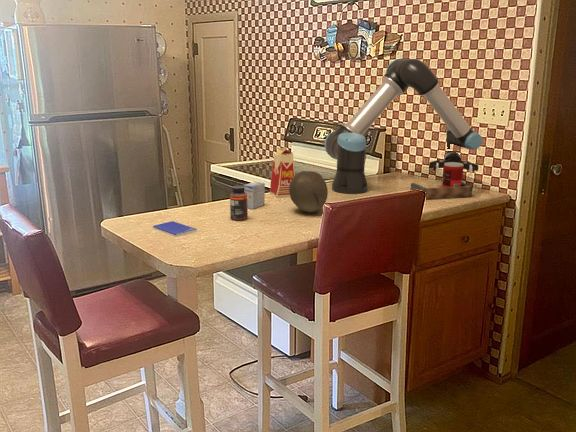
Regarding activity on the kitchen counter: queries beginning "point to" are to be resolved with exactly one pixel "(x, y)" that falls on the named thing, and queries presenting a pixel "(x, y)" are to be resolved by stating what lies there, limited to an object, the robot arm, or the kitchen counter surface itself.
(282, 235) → the kitchen counter surface
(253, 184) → the medicine box
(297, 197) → the dark grey round ball
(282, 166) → the milk carton
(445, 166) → the canned food
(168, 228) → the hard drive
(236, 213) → the supplement bottle
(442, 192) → the rail board
